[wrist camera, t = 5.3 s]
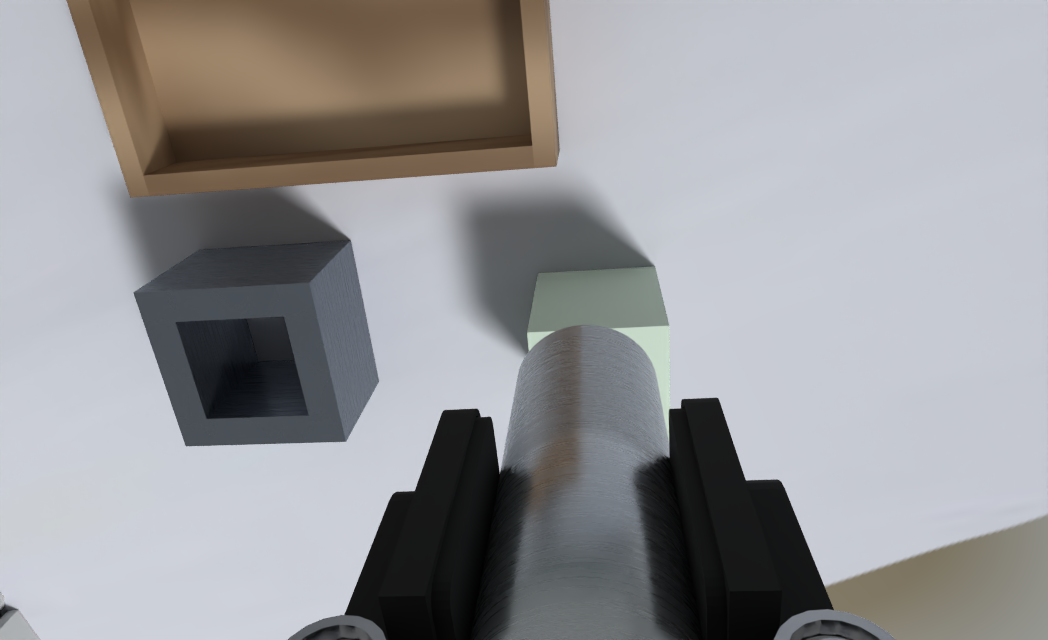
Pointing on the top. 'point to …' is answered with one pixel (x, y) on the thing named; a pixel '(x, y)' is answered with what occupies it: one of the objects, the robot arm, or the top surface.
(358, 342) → the block
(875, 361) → the top surface
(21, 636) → the hinge
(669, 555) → the cylinder
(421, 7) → the tray
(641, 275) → the pale green block
